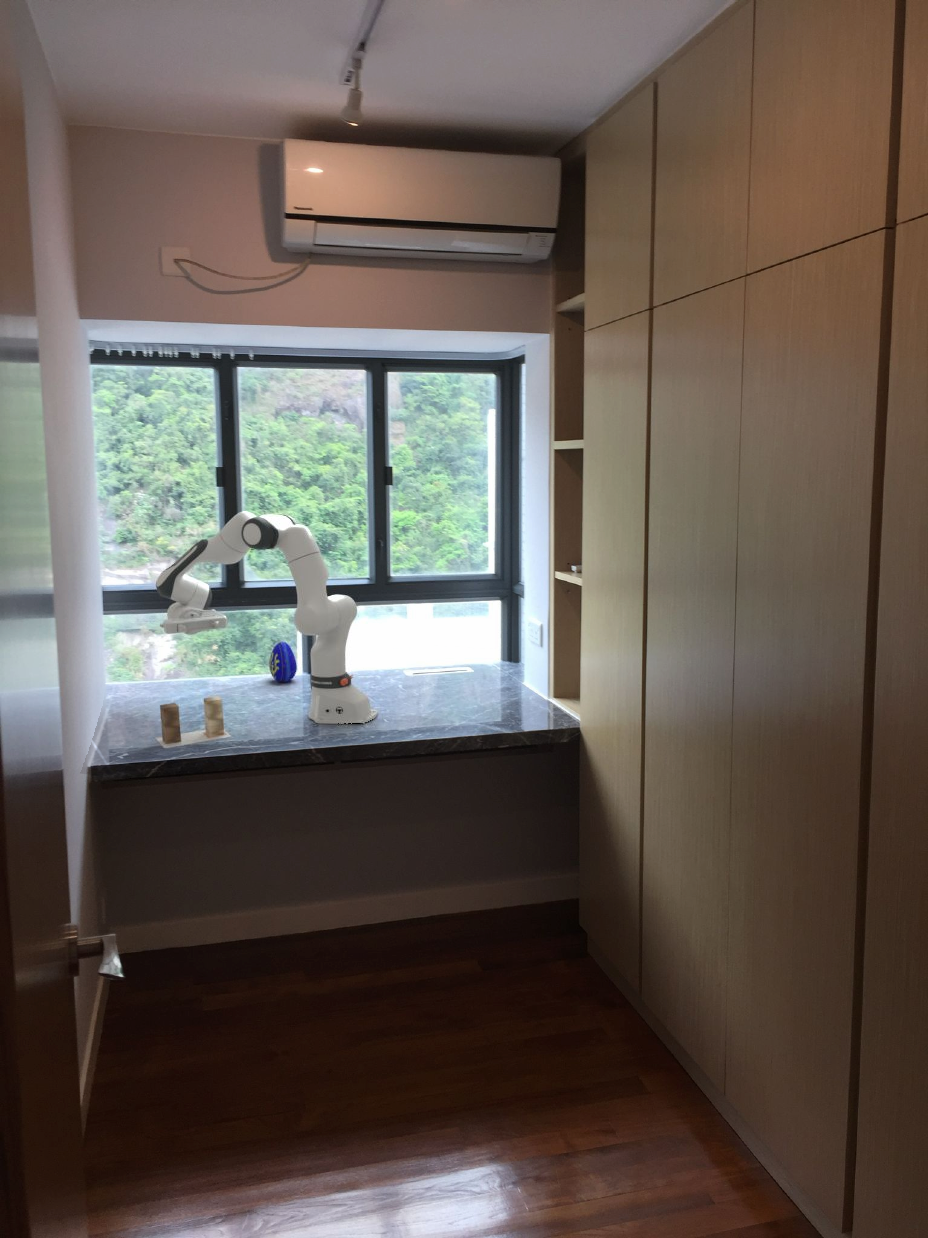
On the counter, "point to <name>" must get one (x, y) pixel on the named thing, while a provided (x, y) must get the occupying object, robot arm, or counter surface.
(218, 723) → the birch pillar
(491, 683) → the counter surface
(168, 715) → the walnut pillar
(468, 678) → the counter surface
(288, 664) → the ornament
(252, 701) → the counter surface
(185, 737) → the white mat
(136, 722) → the counter surface
